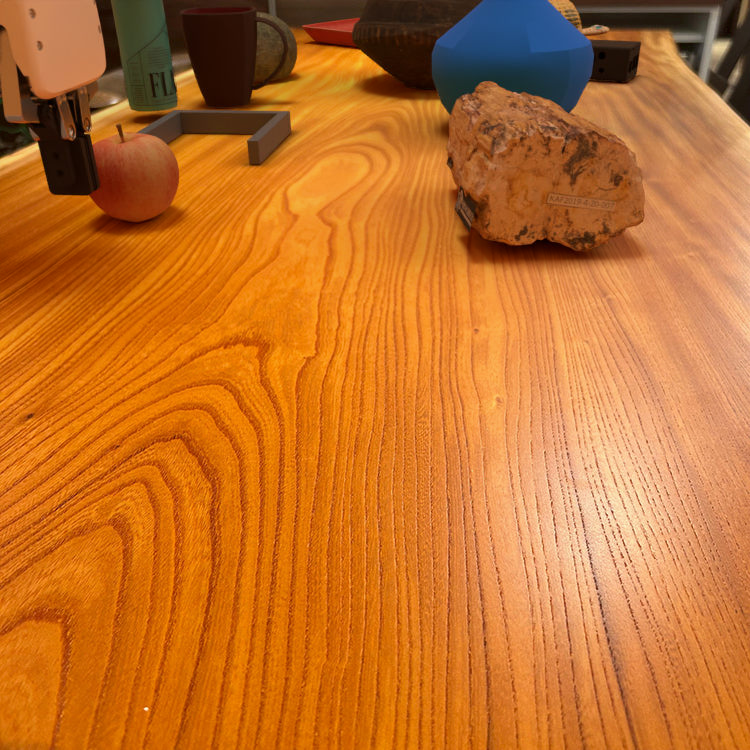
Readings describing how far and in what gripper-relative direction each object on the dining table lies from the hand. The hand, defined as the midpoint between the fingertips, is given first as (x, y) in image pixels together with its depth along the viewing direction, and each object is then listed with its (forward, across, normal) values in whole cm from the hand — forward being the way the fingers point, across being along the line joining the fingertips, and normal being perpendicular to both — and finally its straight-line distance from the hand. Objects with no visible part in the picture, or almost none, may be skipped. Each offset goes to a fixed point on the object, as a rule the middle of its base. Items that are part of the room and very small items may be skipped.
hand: (75, 191), depth 56 cm
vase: (+6, -44, +32) cm, 55 cm away
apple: (+5, -10, 0) cm, 11 cm away
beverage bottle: (+5, -47, -14) cm, 50 cm away
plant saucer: (+5, -120, +2) cm, 120 cm away
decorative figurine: (+5, -106, +39) cm, 113 cm away
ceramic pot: (+5, -73, +20) cm, 76 cm away
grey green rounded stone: (+5, -78, -9) cm, 78 cm away
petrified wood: (+6, -13, +33) cm, 36 cm away
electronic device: (+6, -79, +46) cm, 92 cm away
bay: (+5, -34, -1) cm, 34 cm away
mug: (+5, -57, -5) cm, 58 cm away
